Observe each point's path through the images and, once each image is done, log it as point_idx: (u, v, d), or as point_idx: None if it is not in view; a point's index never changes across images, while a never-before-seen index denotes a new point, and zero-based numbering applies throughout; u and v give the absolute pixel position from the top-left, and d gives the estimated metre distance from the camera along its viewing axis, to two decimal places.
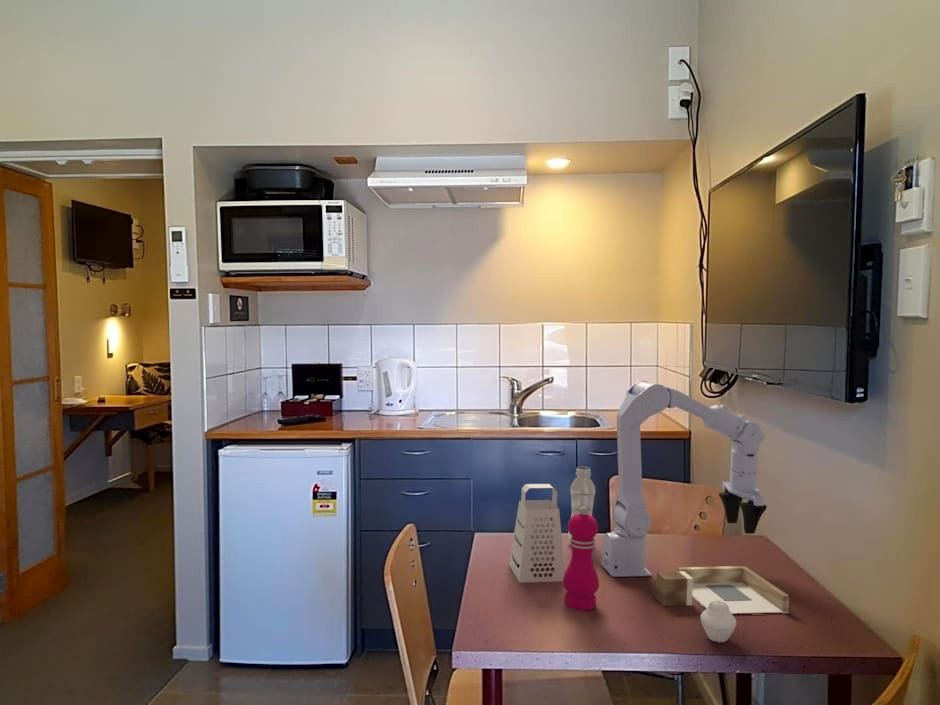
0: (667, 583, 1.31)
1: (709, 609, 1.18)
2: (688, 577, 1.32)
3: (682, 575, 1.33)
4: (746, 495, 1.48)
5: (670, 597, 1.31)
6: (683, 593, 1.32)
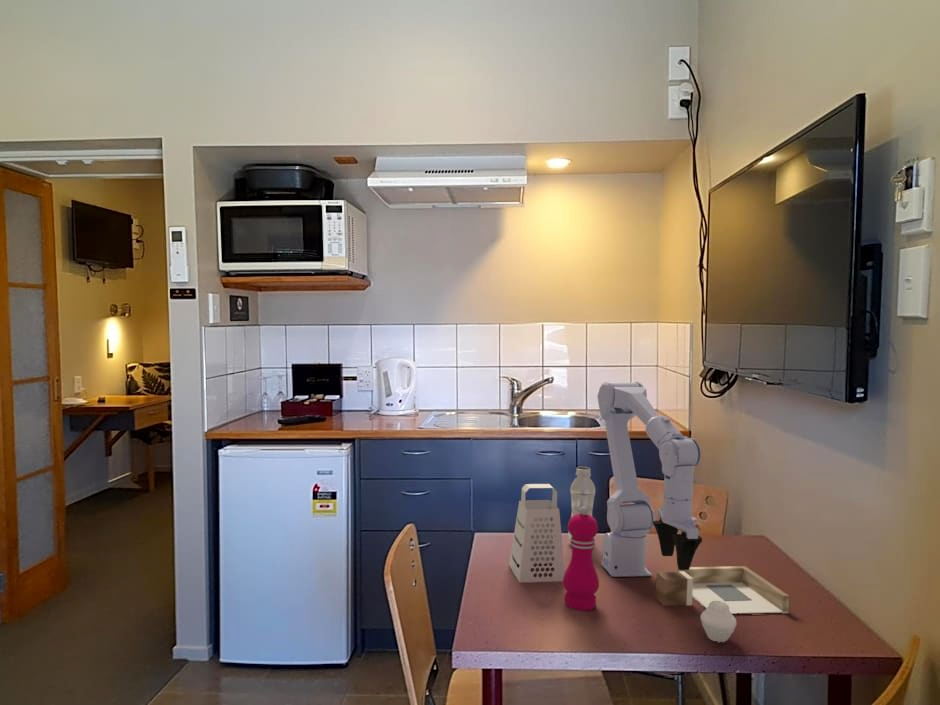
0: (667, 583, 1.31)
1: (709, 609, 1.18)
2: (688, 577, 1.32)
3: (682, 575, 1.33)
4: (679, 526, 1.28)
5: (670, 597, 1.31)
6: (683, 593, 1.32)
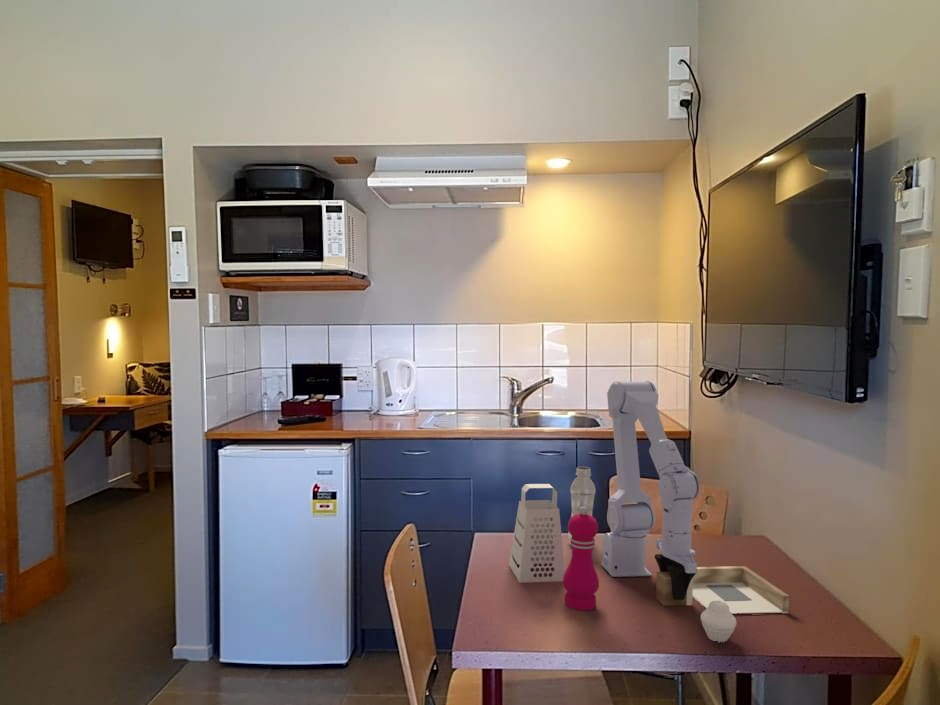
0: (667, 583, 1.31)
1: (709, 609, 1.18)
2: None
3: None
4: (677, 560, 1.29)
5: (670, 597, 1.31)
6: None
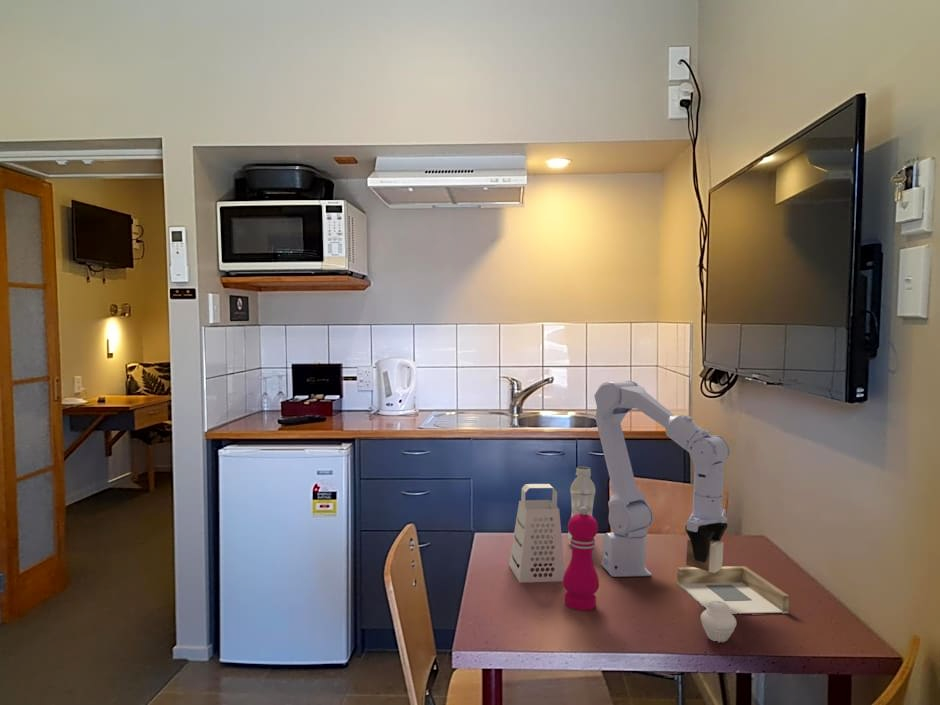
0: (690, 544, 1.36)
1: (709, 609, 1.18)
2: (714, 545, 1.33)
3: (712, 542, 1.34)
4: (690, 518, 1.33)
5: (692, 558, 1.35)
6: None
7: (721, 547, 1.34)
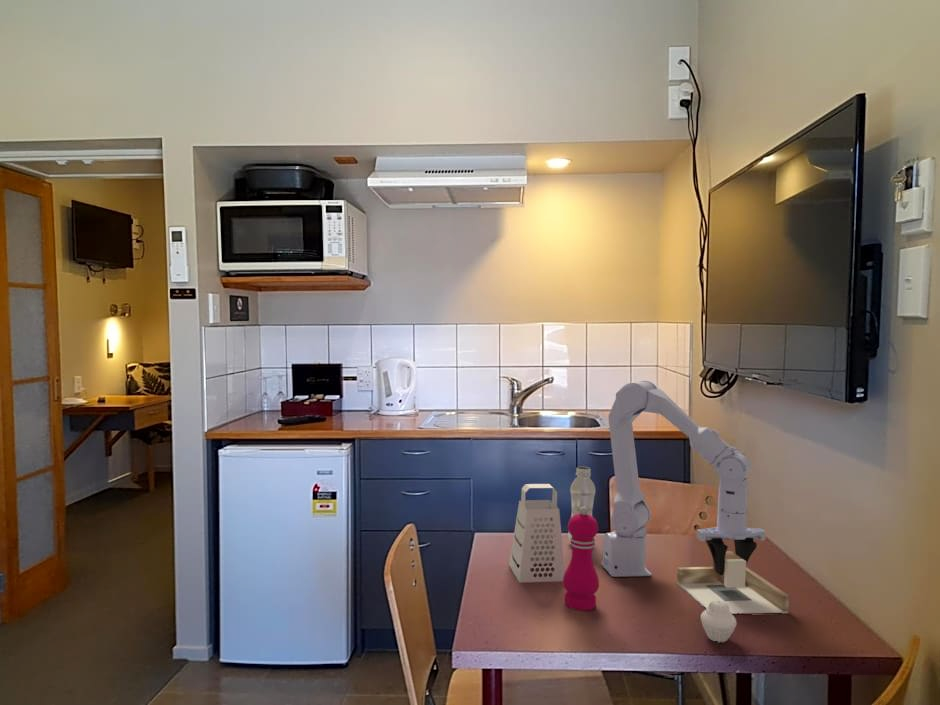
0: None
1: (709, 609, 1.18)
2: (729, 560, 1.35)
3: (732, 559, 1.36)
4: None
5: None
6: None
7: (741, 565, 1.35)
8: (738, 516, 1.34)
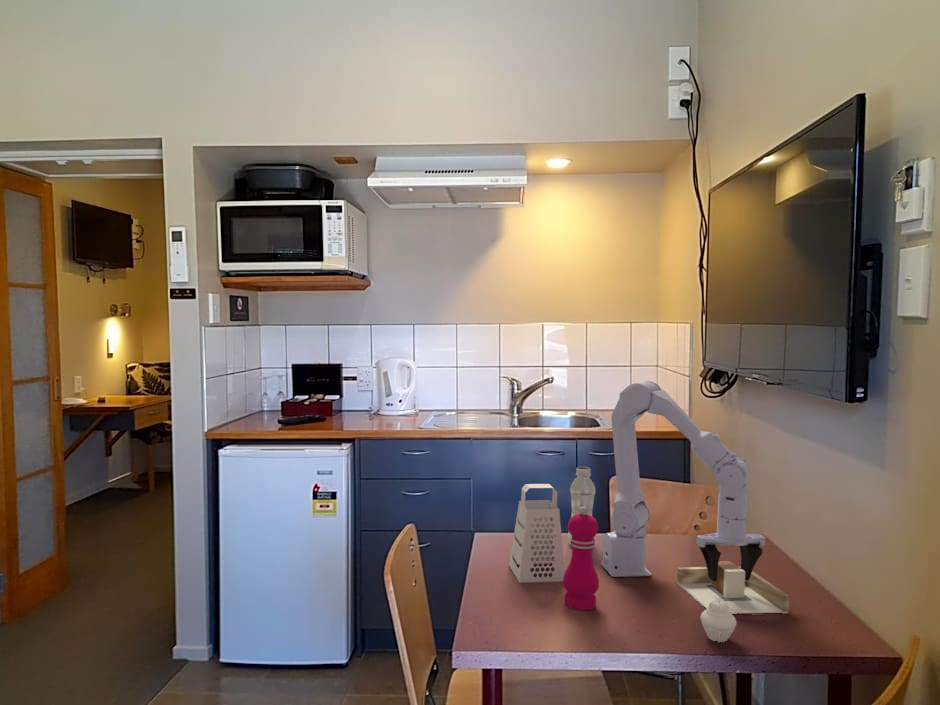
0: None
1: (709, 609, 1.18)
2: (728, 570, 1.35)
3: (731, 569, 1.36)
4: None
5: None
6: (721, 582, 1.37)
7: (740, 575, 1.35)
8: (738, 522, 1.34)
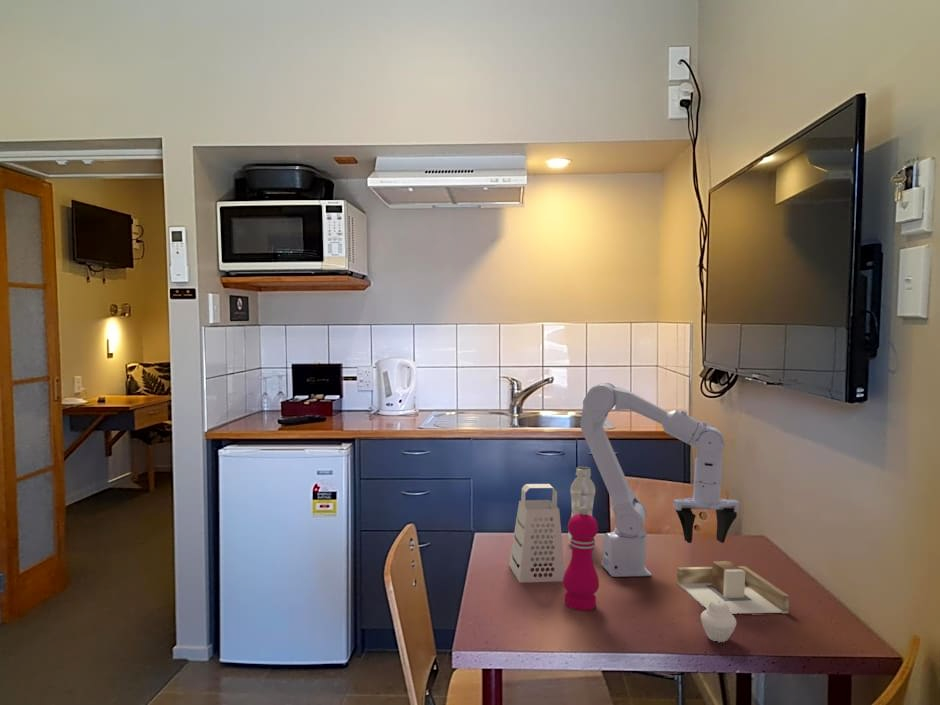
0: (714, 566, 1.40)
1: (709, 609, 1.18)
2: (728, 570, 1.35)
3: (731, 569, 1.36)
4: None
5: (715, 580, 1.40)
6: (721, 582, 1.37)
7: (740, 575, 1.35)
8: (712, 486, 1.41)
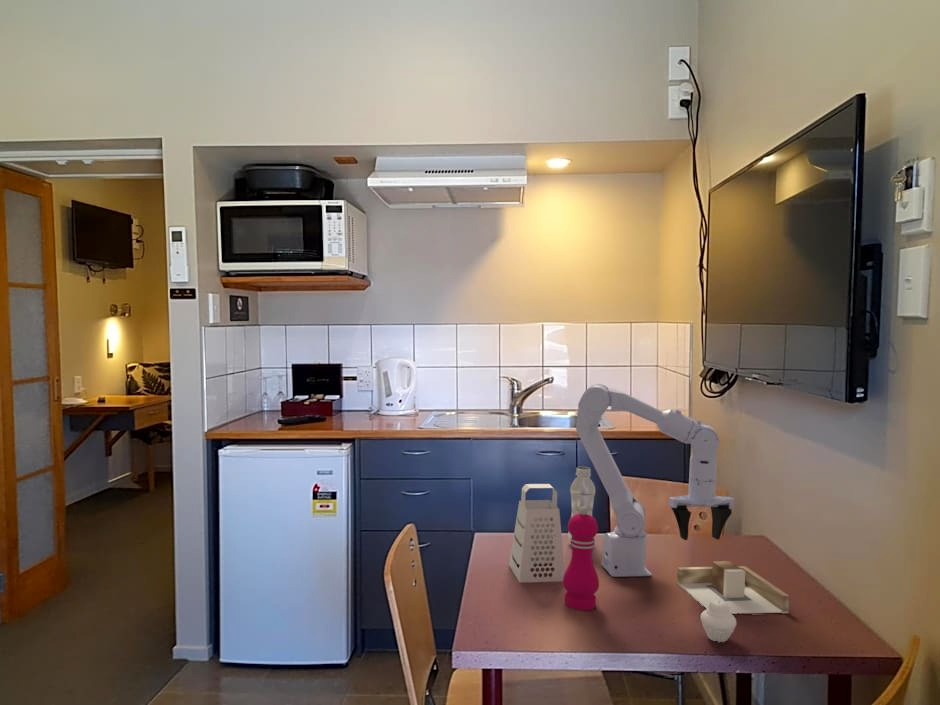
0: (714, 566, 1.40)
1: (709, 609, 1.18)
2: (728, 570, 1.35)
3: (731, 569, 1.36)
4: None
5: (715, 580, 1.40)
6: (721, 582, 1.37)
7: (740, 575, 1.35)
8: (707, 484, 1.42)
